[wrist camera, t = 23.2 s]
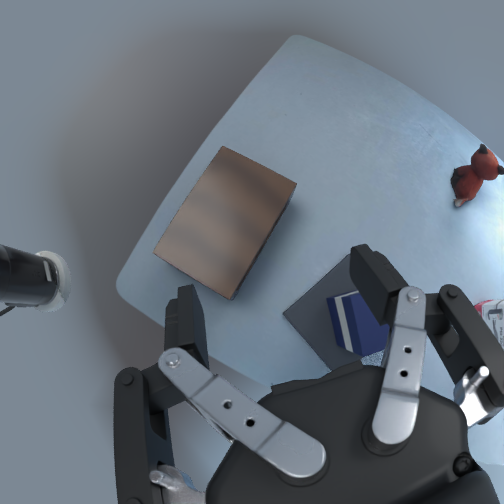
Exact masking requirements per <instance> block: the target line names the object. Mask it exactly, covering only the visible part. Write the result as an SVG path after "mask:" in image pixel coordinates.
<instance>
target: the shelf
mask: <svg viewBox="0 0 504 504" xmlns="http://www.w3.org/2000/svg"><path fill="white" fill-rule="evenodd" d="M296 185H297V183H295V182H293V181H291V180H289V179H287V178H286V177H284V176H282V175H280V174H278V173H276V172H274V171H272V170H270V169H268V168H267V167H265V166H263V165H261V164H259V163H257V162H255V161H253V160H251V159H249V158H247V157H245V156H243V155H241V154H239V153H237V152H235V151H233V150H231V149H228V148H226V147H224V146H222V147H221V149H220V150H219V151H218V153H217V154H216V156H215V157H214V158H213V160H212V161H211V163H210V164H209V166H208V167H207V168H206V170H205V171H204V173H203V174H202V176H201V177H200V179H199V180H198V182H197V183H196V184H195V186H194V187H193V189H192V190H191V192H190V193H189V195H188V196H187V198H186V200H185V201H184V203H183V204H182V206H181V207H180V209H179V210H178V212H177V213H176V215H175V217H174V218H173V220H172V221H171V223H170V225H169V226H168V228H167V229H166V231H165V233H164V234H163V236H162V237H161V239H160V241H159V242H158V244H157V246H156V247H155V249H154V251H153V252H152V253H154V254H155V255H157V256H158V257H160V258H161V259H163V260H165V261H166V262H168V263H169V264H171V265H172V266H174V267H176V268H177V269H179V270H180V271H182V272H184V273H185V274H187V275H189V276H190V277H192V278H193V279H195V280H197V281H198V282H200V283H202V284H203V285H205V286H207V287H208V288H210V289H212V290H213V291H215V292H217V293H218V294H220V295H222V296H223V297H225V298H227V299H229V300H233V299H234V297H235V295H236V294H237V292H238V290H239V289H240V287H241V285H242V283H243V282H244V280H245V278H246V277H247V275H248V273H249V271H250V270H251V268H252V266H253V265H254V263H255V261H256V259H257V258H258V256H259V254H260V252H261V251H262V249H263V247H264V246H265V244H266V242H267V240H268V239H269V237H270V235H271V233H272V232H273V230H274V228H275V227H276V225H277V223H278V221H279V220H280V218H281V216H282V214H283V213H284V211H285V209H286V207H287V206H288V204H289V202H290V200H291V198H292V195H293V193H294V190H295V188H296Z"/></svg>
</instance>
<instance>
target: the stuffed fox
mask: <svg viewBox="0 0 504 504" xmlns="http://www.w3.org/2000/svg"><path fill="white" fill-rule="evenodd" d="M499 174H500V175H503V174H504V168H503V167H502V166H500V165H499V164H498V161H497V159H496V157H495V156H494V154H493V153H492V152H491V151H490V150H489V149H487V148H486V146H485V145H484V144H481V145H480V148H479V149H478V150H477V151H476V152H475V153H474V154H473V156H472V157H471V165H466V166H461V167H459V168H456V169H455V168H454V173H453V177H452V178H451V184H452V187H453V189H454V191H455V194H456V199H453V200H454V202H455V205H456V206H457V207H460V206H461V205H462V204H463V203H464V202H466V200H467V201H470V200H472V199H473V198H474V197H475V196H476V194H477V192H478V190H479V189H480V187H481V186H482V183H483V180H494V179H496V178H497V176H498V175H499Z"/></svg>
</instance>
